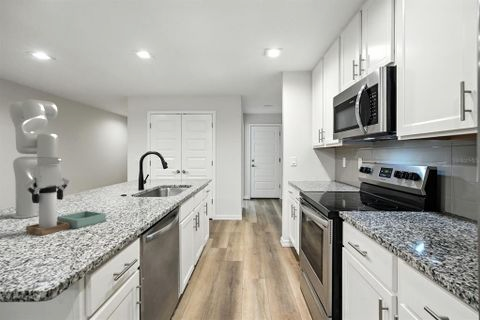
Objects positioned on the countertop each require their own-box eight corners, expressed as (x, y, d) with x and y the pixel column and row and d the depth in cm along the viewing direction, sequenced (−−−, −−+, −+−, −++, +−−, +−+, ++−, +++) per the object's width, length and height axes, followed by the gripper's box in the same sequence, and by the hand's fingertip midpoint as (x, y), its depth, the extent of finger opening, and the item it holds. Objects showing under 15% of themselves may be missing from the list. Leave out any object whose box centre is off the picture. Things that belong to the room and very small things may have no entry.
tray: (57, 225, 122) (57, 216, 122) (86, 218, 135) (86, 210, 135) (77, 229, 116) (77, 220, 116) (105, 221, 130) (105, 213, 129)
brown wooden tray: (26, 232, 111) (26, 226, 111) (54, 225, 121) (53, 220, 121) (41, 235, 107) (41, 229, 107) (69, 228, 117) (69, 223, 117)
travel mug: (60, 228, 117) (60, 184, 117) (48, 232, 110) (48, 185, 110) (48, 228, 118) (47, 183, 117) (35, 232, 111) (34, 185, 111)
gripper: (62, 161, 123) (63, 197, 123) (19, 162, 107) (19, 203, 107) (73, 161, 120) (73, 198, 120) (30, 162, 104) (30, 205, 104)
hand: (48, 201), depth 114 cm, fingers open, 9 cm apart
